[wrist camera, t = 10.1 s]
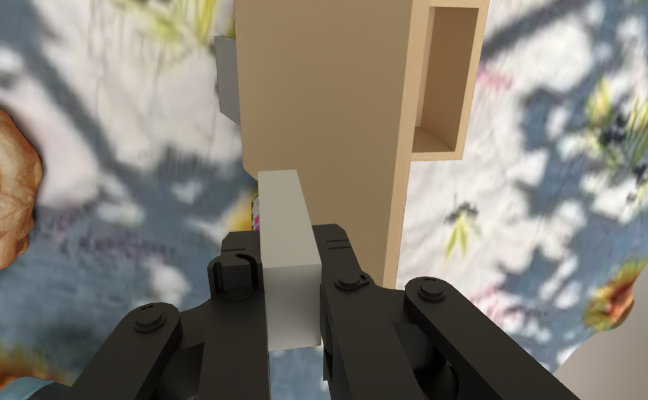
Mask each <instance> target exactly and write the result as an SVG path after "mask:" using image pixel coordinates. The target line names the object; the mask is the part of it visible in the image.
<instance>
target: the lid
mask: <svg viewBox="0 0 648 400" xmlns="http://www.w3.org/2000/svg"><path fill="white" fill-rule="evenodd" d="M429 5H430V0H234V15H235V32H236V39H232V38H228V37H224V36H214V40H215V53H216V66H217V79H218V91H219V104H220V112H221V113H223V114H224V115H225V116H227V117H228V118H230V119H231V120H233V121H234V122H235V123H237V124H238V125H240V126H241V137H242V154H243V168H244V169H245V170H246V171H247V172H248V173H249V174H250V175H251V176H252V177H253V178H254V179H255V180H257V181H258V172H259V171H279V170H297V174H298V177H299V181H300V185H301V189H302V192H303V196H304V200H305V203H306V207H307V211H308V215H309V218H310V222H311V225H322V224H338V225H339V226H340V227H341V228H343V229H344V230H345V231H346V233H347V236H348V238H349V241H350V243H351V246H352V248H353V251H354V253H355V255H356V258H357V260H358V263H359V265H360V268H361V270H362V271H364V272H365V273H367V274H369V275H370V276H371V278H372V279H373V280H374V283H375V285H378V286H381V287H384V288H389V289H395V286H396V278H397V269H398V261H399V253H400V244H401V236H402V228H403V220H404V211H405V203H406V195H407V187H408V178H409V170H410V162H411V153H412V145H413V137H414V129H415V120H416V112H417V104H418V96H419V87H420V79H421V71H422V63H423V54H424V46H425V38H426V29H427V21H428V13H429Z"/></svg>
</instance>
